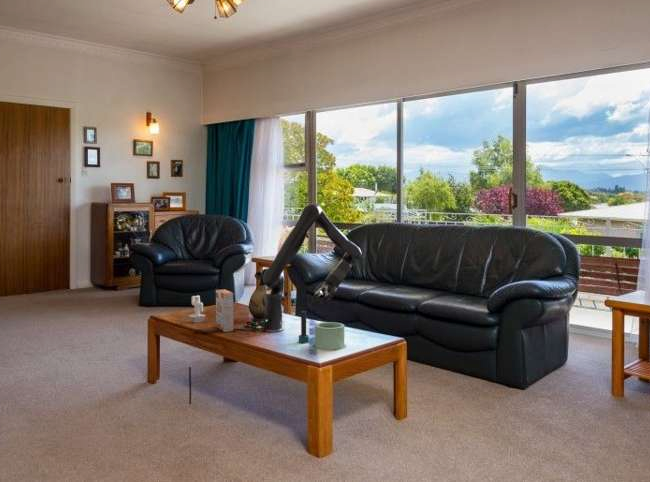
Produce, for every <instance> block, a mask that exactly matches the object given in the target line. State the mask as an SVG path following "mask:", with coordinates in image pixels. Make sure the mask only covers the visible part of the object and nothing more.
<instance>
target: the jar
mask: <svg viewBox="0 0 650 482" xmlns="http://www.w3.org/2000/svg"><path fill="white" fill-rule="evenodd" d="M314 347H315V348H316V349H318V350H324V351H333V350H334V351H335V350H336V351H337V350H340V349H343V348H344V347H345V324H344V323H341V322H334V321H326V322H319V323H316V324H314Z"/></svg>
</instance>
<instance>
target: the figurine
mask: <svg viewBox="0 0 650 482" xmlns="http://www.w3.org/2000/svg"><path fill="white" fill-rule="evenodd" d="M191 305H192V306H193V307H194V314H188V317H189V319H190V322H192V323H202V322H204V320H205V318H206V316H207V315H206V314H202V312H203V311H204V303H203V302H202V301H201V296H200V295H192V296H191ZM193 320H194V321H193Z"/></svg>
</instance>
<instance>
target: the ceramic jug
mask: <svg viewBox="0 0 650 482" xmlns="http://www.w3.org/2000/svg"><path fill="white" fill-rule="evenodd" d="M268 268H269V267H268ZM268 268H263V269H262V271H256V272H255V273H254V279H258V280H259V284H258V285H257V287H256V288H255V289H254V291H253V292H252V294H251V295H250V298H249V301H248V311H249V313H250V315H251V316H252V320H254V321H260V320H262V321H264V314H265V293H266V292H267V289H268V286H266V285H265V284H264V282H263V276H264V273H265V272H266V271H267V269H268Z"/></svg>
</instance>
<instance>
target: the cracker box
mask: <svg viewBox="0 0 650 482" xmlns="http://www.w3.org/2000/svg"><path fill="white" fill-rule="evenodd" d="M215 327H216V328H217V330H223V331H222V333H229V332H234V330H233V329H234V292H232V291H230V290H227V289H216V290H215Z"/></svg>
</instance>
